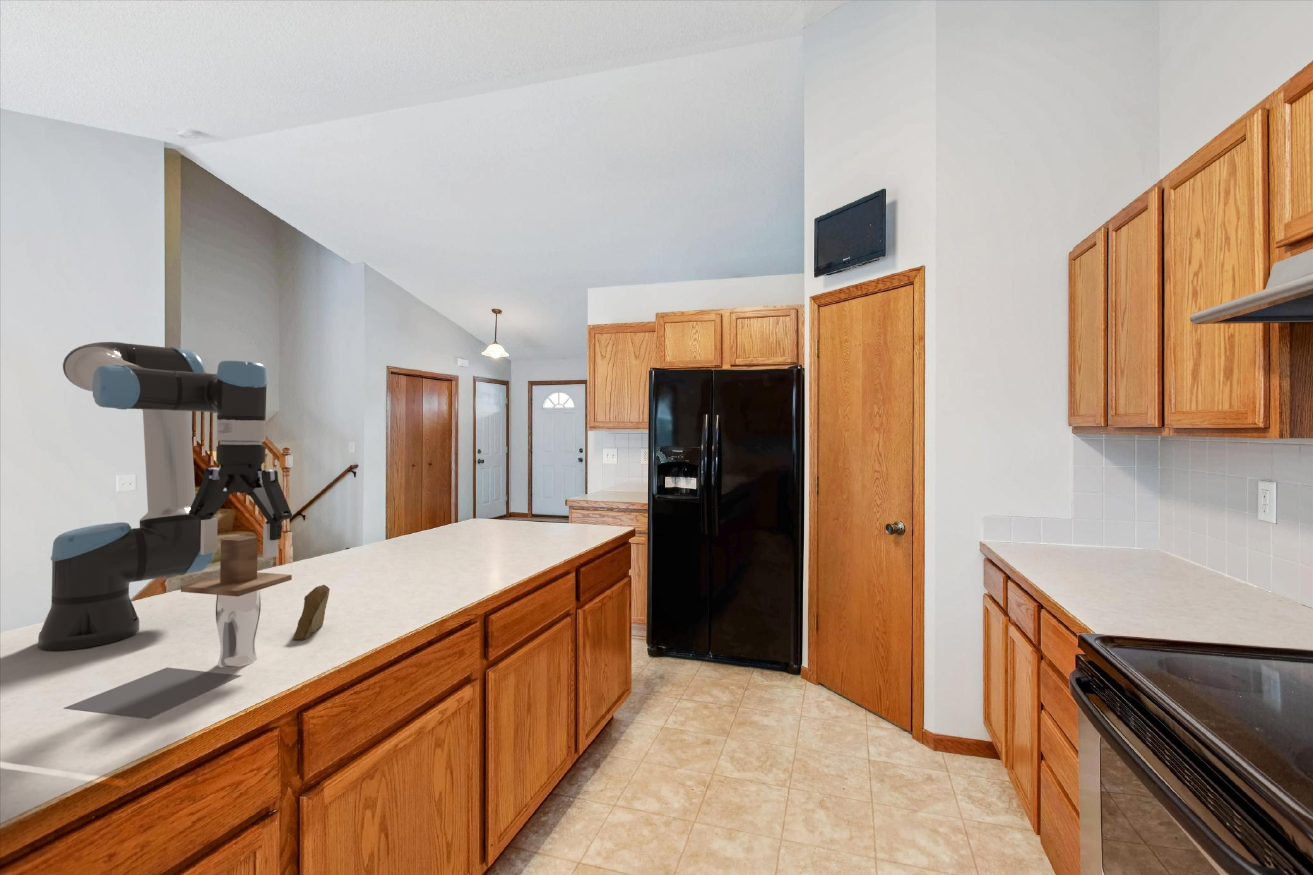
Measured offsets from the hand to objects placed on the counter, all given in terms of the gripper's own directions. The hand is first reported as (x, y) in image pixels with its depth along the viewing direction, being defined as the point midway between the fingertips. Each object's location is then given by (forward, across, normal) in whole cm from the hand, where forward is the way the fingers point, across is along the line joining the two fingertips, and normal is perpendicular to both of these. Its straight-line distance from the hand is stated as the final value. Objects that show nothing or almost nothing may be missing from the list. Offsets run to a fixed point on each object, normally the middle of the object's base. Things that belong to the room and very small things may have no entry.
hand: (239, 555), depth 109 cm
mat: (+21, -2, -13) cm, 25 cm away
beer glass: (+21, 0, 0) cm, 21 cm away
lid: (+6, 0, 0) cm, 6 cm away
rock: (+21, -1, +18) cm, 28 cm away
